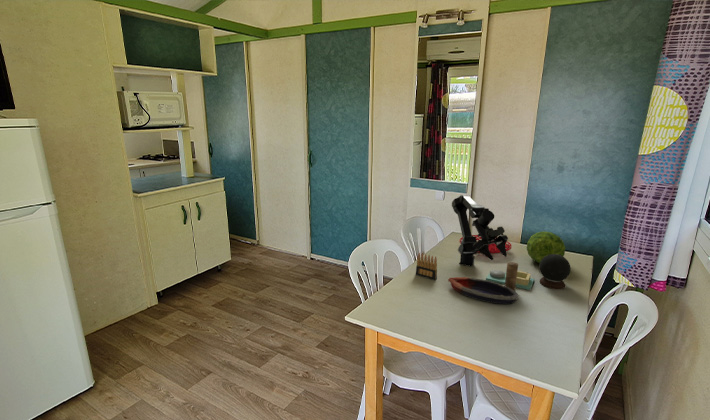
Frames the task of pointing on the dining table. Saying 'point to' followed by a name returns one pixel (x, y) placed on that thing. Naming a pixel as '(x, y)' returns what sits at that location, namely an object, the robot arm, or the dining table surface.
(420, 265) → the ammunition clip
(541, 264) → the black ball on stand
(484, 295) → the dish
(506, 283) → the walnut dowel
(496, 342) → the dining table surface
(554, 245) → the lettuce
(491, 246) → the bowl
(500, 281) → the carrier plate
